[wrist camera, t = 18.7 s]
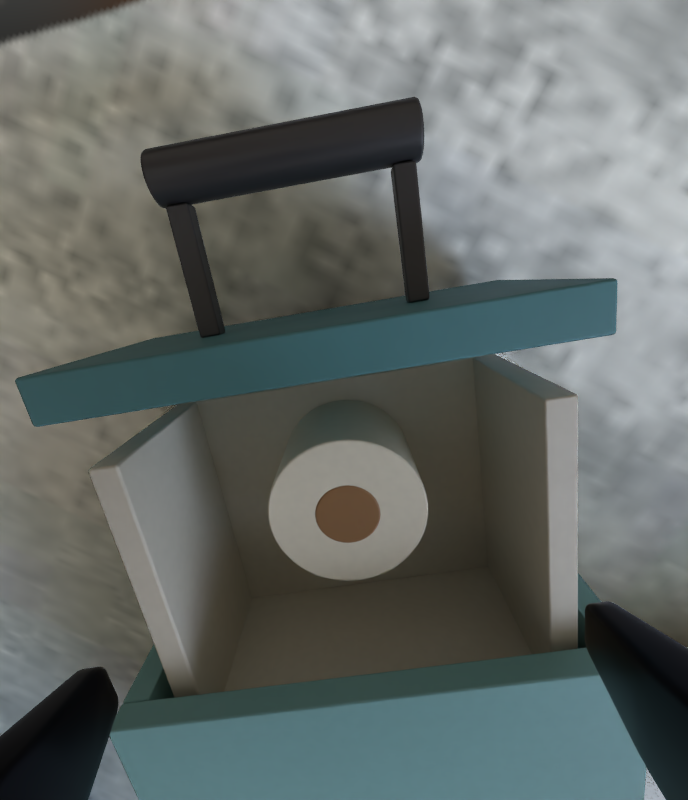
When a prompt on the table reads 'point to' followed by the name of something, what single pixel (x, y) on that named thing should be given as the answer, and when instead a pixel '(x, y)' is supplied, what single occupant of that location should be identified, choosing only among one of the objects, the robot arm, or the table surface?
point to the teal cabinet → (388, 734)
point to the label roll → (347, 493)
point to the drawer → (319, 384)
